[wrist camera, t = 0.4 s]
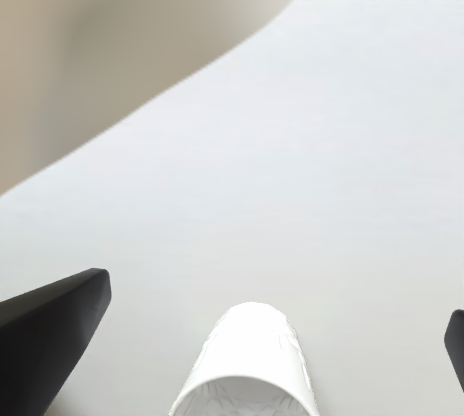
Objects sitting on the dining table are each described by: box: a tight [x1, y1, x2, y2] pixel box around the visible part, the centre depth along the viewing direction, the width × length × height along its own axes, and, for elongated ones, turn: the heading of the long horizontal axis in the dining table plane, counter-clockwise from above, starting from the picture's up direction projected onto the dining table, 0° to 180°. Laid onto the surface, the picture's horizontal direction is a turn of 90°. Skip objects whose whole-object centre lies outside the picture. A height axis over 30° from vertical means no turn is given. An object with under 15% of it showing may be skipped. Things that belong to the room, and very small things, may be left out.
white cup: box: [168, 302, 320, 416], centre depth 19 cm, size 8×8×10 cm
